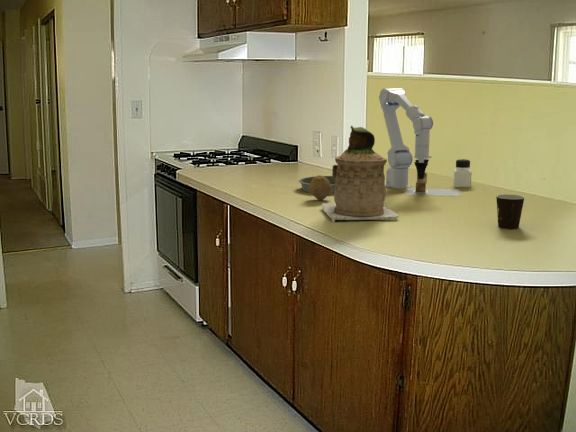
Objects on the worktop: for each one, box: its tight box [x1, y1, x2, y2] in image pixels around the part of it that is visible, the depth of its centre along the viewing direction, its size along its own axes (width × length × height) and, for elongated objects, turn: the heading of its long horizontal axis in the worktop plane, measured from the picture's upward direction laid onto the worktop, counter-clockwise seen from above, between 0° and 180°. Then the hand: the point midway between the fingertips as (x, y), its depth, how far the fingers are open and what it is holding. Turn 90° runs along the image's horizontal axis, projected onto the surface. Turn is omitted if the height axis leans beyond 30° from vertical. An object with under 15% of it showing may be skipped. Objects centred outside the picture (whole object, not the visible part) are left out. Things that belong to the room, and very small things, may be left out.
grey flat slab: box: [405, 187, 461, 197], centre depth 272 cm, size 22×16×1 cm
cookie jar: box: [321, 125, 399, 223], centre depth 229 cm, size 25×25×32 cm
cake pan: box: [298, 175, 335, 195], centre depth 283 cm, size 25×25×4 cm
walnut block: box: [415, 181, 427, 193], centre depth 272 cm, size 4×4×4 cm
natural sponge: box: [309, 174, 332, 201], centre depth 258 cm, size 9×9×10 cm
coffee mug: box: [495, 193, 525, 230], centre depth 208 cm, size 12×9×10 cm
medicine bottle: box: [453, 158, 472, 188], centre depth 286 cm, size 7×7×12 cm
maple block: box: [416, 171, 428, 184], centre depth 271 cm, size 4×4×4 cm
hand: (421, 177), depth 271 cm, fingers open, 7 cm apart
